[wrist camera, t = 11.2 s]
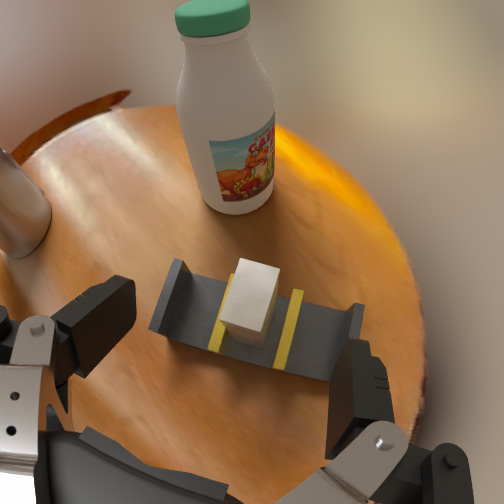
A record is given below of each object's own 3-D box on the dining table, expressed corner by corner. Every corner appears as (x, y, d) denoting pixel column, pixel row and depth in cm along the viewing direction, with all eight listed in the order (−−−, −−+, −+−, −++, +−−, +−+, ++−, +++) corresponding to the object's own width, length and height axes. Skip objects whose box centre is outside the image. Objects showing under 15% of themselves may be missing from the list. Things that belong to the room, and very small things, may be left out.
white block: (249, 301, 25) (240, 257, 16) (275, 309, 25) (280, 268, 16) (236, 341, 24) (218, 319, 15) (262, 349, 23) (260, 332, 15)
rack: (187, 276, 28) (174, 258, 24) (349, 316, 26) (364, 304, 21) (166, 337, 26) (148, 329, 21) (335, 382, 23) (348, 383, 19)
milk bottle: (197, 218, 30) (131, 37, 12) (204, 160, 33) (165, -4, 15) (274, 217, 30) (279, 20, 12) (272, 158, 33) (272, -14, 15)
